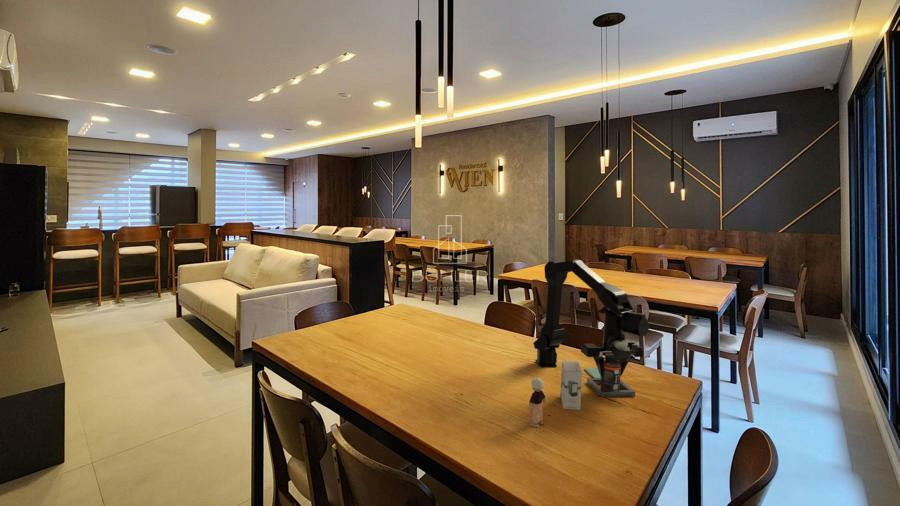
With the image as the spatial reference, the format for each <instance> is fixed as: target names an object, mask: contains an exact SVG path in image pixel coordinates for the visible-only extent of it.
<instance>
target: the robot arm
mask: <svg viewBox="0 0 900 506" xmlns="http://www.w3.org/2000/svg"><path fill="white" fill-rule="evenodd" d="M543 270H544V278H545V281H546V283H547V285H548V286H547V298H546V309H545V310H546V312H545V322H544V324H543V326H542V327H541V329H540V332H539V337H538V338H537V339H536V340H535V341H533V348H534V349H535V350H536V351H537V352H536V359H535V362H536V364H537V365H538V366H539V367H540V368H542V367H546V368H548V367H550V368H551V367H555V368H556V367H558V365H557V361H558V353H557V351H556V350H557V349H559V347H560V345H561V344H562V343H563V340H565V328H563V327H561V325H560V319H561V318H560V316H561V315H560V314H561V302H562V293H563V292H562V290H563V284H564V283H565V281H566V280H567V279H568V278H567V277H568V273H571V272H572V273H573V274H574V275H575V276H576V277H577V278H579V279H580V281H582V282H583V283H585V285H586V286H588V287H589V288H590V289H591V290H592V291H594V293H595V294H596V296H597V299H598V300H599V302H601V304H602V308H600V309H599V310H598V313H599V314H601V315H602V314H603V315H604V321H603V329H601V333H602V334H603V337H602V338H603V339H602V341H601V342H600V343H601V346H597V345H596V344H594V343H582V345H581V347H580V352H581V353H582V354H583V355H585V357H587V358H593V361H595V365H596V368H598V371H599V374H600V376H603V361H604V360H605V356H604V355H603V354H613V355H614V357H615V358H617V359H618V362H619V363H620V364H621V377H622V375H623V373H624V372H625V369H626V367H627V365H628V364H629V362H631V361H632V360H635V359H636V358H643V357H645V350H644V348H643V347H641V346H640V345H638V343H637V342H636V341H626V335H625V334H624V333H626V334H630V335H634V336H638V337H643V338H644V337H645V336H646V335H647V334H648V332H649V328H650V324H649V320H648V318H647V317H646V316H647V315H646V314H645V313H639V312H635V309H634V307H633V306H632V304H631V302H630V301H629V299H628V294H627V293H626V291H624V290H622V289H621V288H619V287H618V286H616V285H613V284H611V283H608V282H606V281H605V280H604V279H603V278H601V276H599V275H598V274H597V273H595V272H594V271H593V270H592V269H591V268H590V267H588V266H587V265H586V264H585V263H584V262H583V261H582V260H581V259H579V258H578V259H575V258H574V259H570V260H567V261H566V260H565V261H564V260H551V261H548V262H546V263H545V264H544V269H543Z"/></svg>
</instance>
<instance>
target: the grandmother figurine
mask: <svg viewBox="0 0 900 506" xmlns="http://www.w3.org/2000/svg"><path fill="white" fill-rule="evenodd" d="M530 382H531V383H530V384H531V388H532V391H533V392H532V393H531V396H530V398H529V401H528V406H527V409H528V410H529V414H528V421H529V426H530V427H534V428H540V425H543V424H544V416H543V415H544V411H543V410H544V409H543V405H542V403H545V404H546V403H547V398H546V395H545V393H544V391H543V390H542V389H544V387H545V385H544V381H543V380H542V379H541V378H539V377H534V378H533V379H531V381H530Z"/></svg>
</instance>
